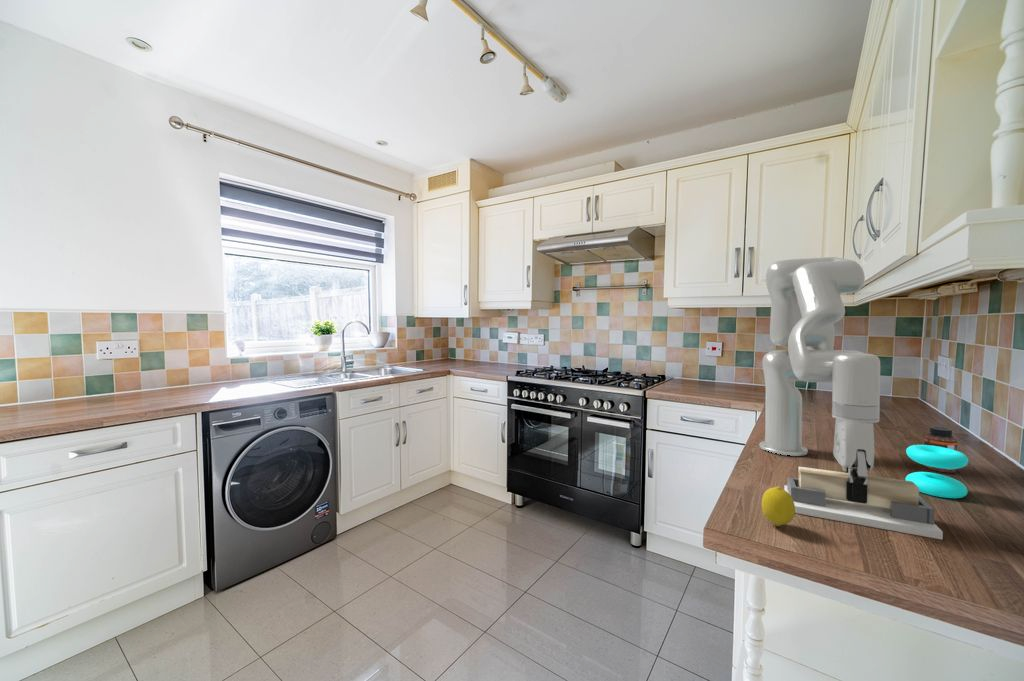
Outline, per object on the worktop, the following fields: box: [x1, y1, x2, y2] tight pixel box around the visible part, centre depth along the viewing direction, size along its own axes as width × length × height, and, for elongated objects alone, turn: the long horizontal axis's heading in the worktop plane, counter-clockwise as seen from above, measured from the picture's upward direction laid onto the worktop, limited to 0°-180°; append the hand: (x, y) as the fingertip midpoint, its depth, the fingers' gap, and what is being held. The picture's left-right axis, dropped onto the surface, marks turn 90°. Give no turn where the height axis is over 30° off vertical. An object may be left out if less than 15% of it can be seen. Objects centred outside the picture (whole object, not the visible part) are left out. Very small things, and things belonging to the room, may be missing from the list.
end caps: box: [786, 476, 935, 525], centre depth 83 cm, size 7×22×3 cm, turn 61°
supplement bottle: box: [923, 426, 958, 474], centre depth 106 cm, size 6×6×11 cm
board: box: [783, 484, 944, 540], centre depth 83 cm, size 12×23×2 cm, turn 61°
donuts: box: [904, 444, 969, 499], centre depth 93 cm, size 10×10×10 cm
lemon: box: [761, 486, 796, 527], centre depth 78 cm, size 6×6×8 cm
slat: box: [797, 466, 920, 508], centre depth 83 cm, size 4×19×5 cm, turn 61°
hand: (853, 496), depth 83 cm, fingers closed on slat, 3 cm apart
